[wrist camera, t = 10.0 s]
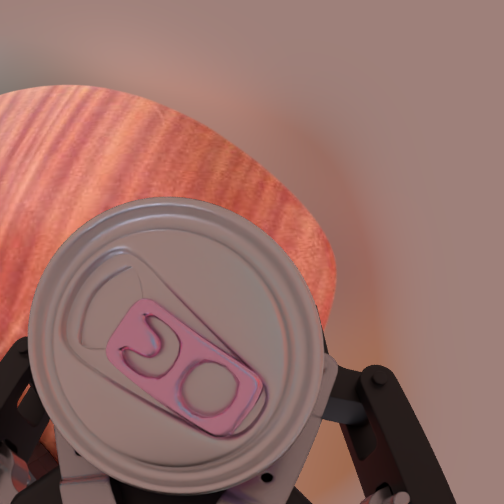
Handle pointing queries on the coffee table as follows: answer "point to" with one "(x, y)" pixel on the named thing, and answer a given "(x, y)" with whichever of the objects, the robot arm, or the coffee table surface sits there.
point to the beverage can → (175, 346)
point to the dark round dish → (40, 463)
